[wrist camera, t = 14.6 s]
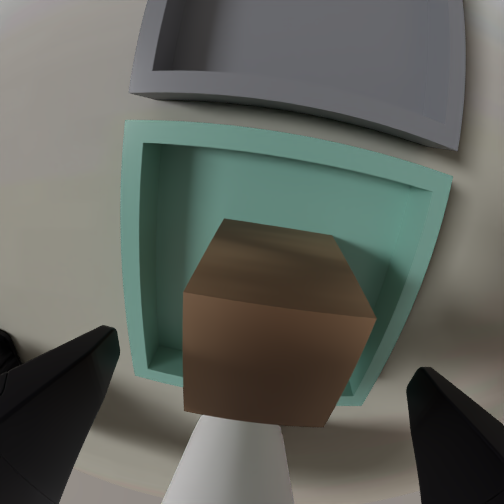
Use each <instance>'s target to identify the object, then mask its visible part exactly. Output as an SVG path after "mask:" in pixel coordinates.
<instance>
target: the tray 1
mask: <svg viewBox="0 0 504 504" xmlns="http://www.w3.org/2000/svg"><path fill="white" fill-rule="evenodd" d="M465 71H466V43H465V22H464V10H463V1H462V0H148V1H147V5H146V8H145V12H144V16H143V20H142V24H141V28H140V33H139V37H138V42H137V47H136V52H135V57H134V62H133V68H132V74H131V80H130V87H129V93H131V94H135V95H139V96H143V97H147V98H151V99H154V100H192V101H209V102H222V103H233V104H243V105H251V106H259V107H267V108H274V109H280V110H286V111H292V112H298V113H304V114H309V115H314V116H319V117H324V118H328V119H333V120H337V121H342V122H346V123H350V124H354V125H358V126H362V127H366V128H369V129H373V130H377V131H380V132H384V133H387V134H390V135H394V136H397V137H400V138H403V139H406V140H409V141H412V142H415V143H418V144H421V145H424V146H427V147H433V148H440V149H447V150H453V151H458V146H459V139H460V132H461V125H462V116H463V105H464V93H465Z"/></svg>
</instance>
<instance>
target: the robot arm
mask: <svg viewBox="0 0 504 504" xmlns="http://www.w3.org/2000/svg"><path fill="white" fill-rule="evenodd" d="M119 355H120V347H119V341H118V335H117V331H116V329H115V328H113V327H109V326H105V325H102V326H100V327H98V328H96V329H94V330H91V331H89V332H87V333H85V334H83V335H81V336H79V337H77V338H75V339H73V340H71V341H69V342H67V343H65V344H63V345H61V346H59V347H57V348H55V349H52V350H50V351H48V352H46V353H44V354H42V355H40V356H38V357H36V358H34V359H32V360H30V361H28V362H26V363H24V364H21V362H20V359H19V357H18V355H17V352H16V350H15V347H14V345H13V342H12V340H11V338H10V336H9V335H8V334H6V333H4V332H2V331H1V330H0V504H59V502H60V499H61V496H62V494H63V491H64V489H65V486H66V484H67V481H68V479H69V476H70V474H71V471H72V469H73V467H74V464H75V462H76V460H77V457H78V455H79V453H80V450H81V448H82V446H83V443H84V441H85V439H86V437H87V434H88V432H89V430H90V428H91V426H92V424H93V421H94V419H95V417H96V415H97V413H98V411H99V409H100V407H101V404H102V402H103V400H104V398H105V395H106V392H107V389H108V387H109V384H110V381H111V378H112V375H113V372H114V370H115V367H116V364H117V361H118V359H119ZM406 393H407V401H408V410H409V420H410V429H411V436H412V442H413V447H414V453H415V459H416V465H417V471H418V478H419V486H420V494H421V503H422V504H504V426H503V424H502V423H501V422H499V421H498V420H497V419H496V418H494V417H493V416H492V415H491V414H489V413H488V412H487V411H486V410H484V409H483V408H482V407H481V406H479V405H478V404H477V403H476V402H474V401H473V400H472V399H471V398H469V397H468V396H467V395H466V394H464V393H463V392H462V391H461V390H459V389H458V388H457V387H456V386H454V385H453V384H452V383H451V382H449V381H448V380H447V379H445V378H444V377H443V376H442V375H440V374H439V373H438V372H437V371H435V370H434V369H433V368H431V367H420V368H419V369H417V371H416V372H415V374H414V376H413V377H412V379H411V381H410V382H409V384H408V386H407V390H406Z"/></svg>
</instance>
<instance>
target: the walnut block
mask: <svg viewBox="0 0 504 504" xmlns="http://www.w3.org/2000/svg"><path fill="white" fill-rule="evenodd" d="M376 319H377V318H376V316H375V314H374V312H373V310H372V308H371V306H370V304H369V302H368V300H367V298H366V296H365V294H364V293H363V291H362V289H361V287H360V285H359V283H358V281H357V279H356V277H355V276H354V274H353V272H352V270H351V268H350V266H349V264H348V263H347V261H346V259H345V257H344V255H343V254H342V252H341V250H340V248H339V246H338V245H337V243H336V241H335V239H334V238H333V236H332V235H327V234H321V233H315V232H309V231H303V230H297V229H291V228H285V227H278V226H272V225H265V224H259V223H252V222H246V221H239V220H232V219H225V218H224V219H223V221H222V223H221V224H220V226H219V228H218V230H217V231H216V233H215V235H214V237H213V239H212V240H211V242H210V244H209V246H208V247H207V249H206V251H205V253H204V255H203V256H202V258H201V260H200V262H199V264H198V266H197V267H196V269H195V271H194V273H193V275H192V277H191V278H190V280H189V282H188V284H187V286H186V288H185V290H184V291H183V396H184V411H187V412H191V413H196V414H202V415H207V416H212V417H218V418H224V419H231V420H238V421H245V422H253V423H262V424H272V425H284V426H299V427H324V426H325V424H326V422H327V420H328V419H329V417H330V415H331V413H332V411H333V410H334V408H335V406H336V404H337V402H338V400H339V399H340V397H341V395H342V393H343V391H344V389H345V387H346V385H347V383H348V381H349V379H350V377H351V375H352V373H353V371H354V369H355V367H356V365H357V363H358V360H359V358H360V356H361V354H362V352H363V350H364V347H365V345H366V343H367V341H368V338H369V336H370V334H371V331H372V329H373V326H374V324H375V322H376Z"/></svg>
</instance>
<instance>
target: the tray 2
mask: <svg viewBox="0 0 504 504" xmlns="http://www.w3.org/2000/svg"><path fill="white" fill-rule="evenodd" d="M452 179H453V176H450V175H447V174H445V173H442V172H439V171H436V170H433V169H430V168H427V167H424V166H421V165H418V164H415V163H412V162H408V161H405V160H402V159H398V158H395V157H392V156H388V155H384V154H381V153H377V152H373V151H369V150H366V149H362V148H358V147H353V146H349V145H345V144H340V143H336V142H331V141H327V140H322V139H317V138H312V137H306V136H301V135H295V134H290V133H284V132H277V131H271V130H264V129H257V128H249V127H241V126H232V125H222V124H211V123H199V122H184V121H162V120H125V128H124V139H123V152H122V170H121V206H120V220H121V256H122V274H123V287H124V299H125V309H126V318H127V326H128V334H129V341H130V348H131V355H132V361H133V367H134V373H135V376H139V377H142V378H146V379H150V380H154V381H158V382H162V383H166V384H170V385H175V386H179V387H183V291H184V290H185V288H186V286H187V284H188V282H189V280H190V278H191V277H192V275H193V273H194V271H195V269H196V267H197V266H198V264H199V262H200V260H201V258H202V256H203V255H204V253H205V251H206V249H207V247H208V246H209V244H210V242H211V240H212V239H213V237H214V235H215V233H216V231H217V230H218V228H219V226H220V224H221V223H222V221H223V219H224V218H225V219H232V220H239V221H246V222H252V223H259V224H265V225H272V226H278V227H285V228H291V229H297V230H303V231H309V232H315V233H321V234H327V235H332V236H333V238H334V239H335V241H336V243H337V245H338V246H339V248H340V250H341V252H342V254H343V255H344V257H345V259H346V261H347V263H348V264H349V266H350V268H351V270H352V272H353V274H354V276H355V277H356V279H357V281H358V283H359V285H360V287H361V289H362V291H363V293H364V294H365V296H366V298H367V300H368V302H369V304H370V306H371V308H372V310H373V312H374V314H375V316H376V318H377V319H376V322H375V324H374V326H373V329H372V331H371V334H370V336H369V338H368V341H367V343H366V345H365V347H364V350H363V352H362V354H361V356H360V358H359V360H358V363H357V365H356V367H355V369H354V371H353V373H352V375H351V377H350V379H349V381H348V383H347V385H346V387H345V389H344V391H343V393H342V395H341V397H340V399H339V400H338V402H337V404H336V406H362V404H363V402H364V401H365V399H366V397H367V396H368V394H369V392H370V391H371V389H372V387H373V385H374V384H375V382H376V380H377V378H378V376H379V375H380V373H381V371H382V369H383V367H384V365H385V363H386V362H387V360H388V358H389V356H390V354H391V352H392V350H393V348H394V346H395V344H396V342H397V340H398V337H399V335H400V333H401V331H402V329H403V327H404V325H405V322H406V320H407V318H408V315H409V313H410V311H411V309H412V306H413V304H414V301H415V299H416V296H417V294H418V291H419V289H420V286H421V284H422V281H423V278H424V276H425V273H426V270H427V267H428V264H429V262H430V259H431V256H432V253H433V250H434V247H435V243H436V240H437V237H438V234H439V230H440V227H441V223H442V220H443V216H444V212H445V208H446V205H447V201H448V196H449V192H450V188H451V183H452Z"/></svg>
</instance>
